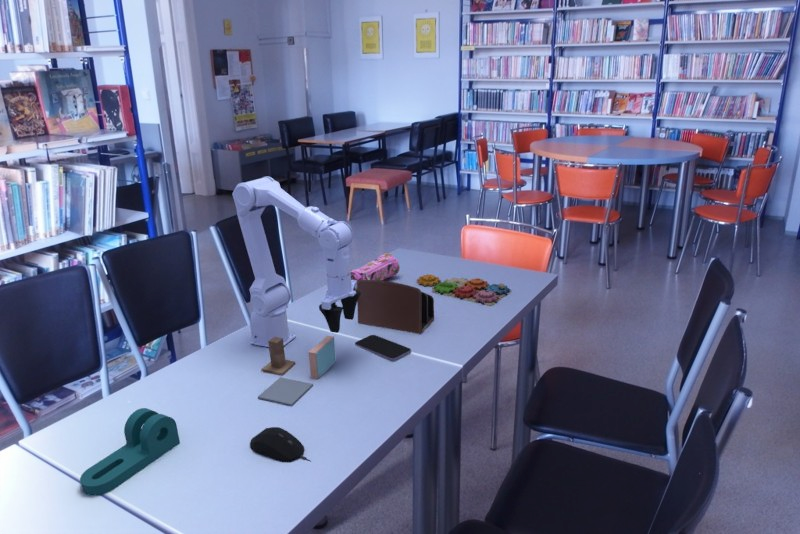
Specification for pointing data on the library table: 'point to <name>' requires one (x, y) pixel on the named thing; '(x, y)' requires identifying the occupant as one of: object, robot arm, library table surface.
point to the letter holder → (394, 306)
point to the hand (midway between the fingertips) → (342, 325)
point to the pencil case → (377, 269)
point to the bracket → (132, 451)
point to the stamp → (277, 358)
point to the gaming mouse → (278, 445)
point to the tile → (322, 357)
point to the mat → (285, 391)
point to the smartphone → (383, 347)
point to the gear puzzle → (466, 289)
